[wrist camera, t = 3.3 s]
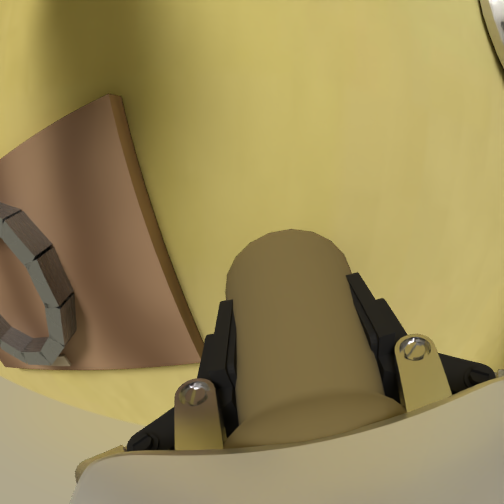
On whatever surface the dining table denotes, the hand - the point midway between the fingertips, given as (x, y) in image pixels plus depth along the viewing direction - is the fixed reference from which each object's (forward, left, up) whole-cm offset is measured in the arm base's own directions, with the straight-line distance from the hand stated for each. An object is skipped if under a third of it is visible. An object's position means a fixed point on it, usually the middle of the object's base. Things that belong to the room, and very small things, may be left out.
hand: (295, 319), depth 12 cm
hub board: (+14, -4, -2) cm, 15 cm away
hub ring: (+15, -4, -1) cm, 16 cm away
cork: (0, 0, -2) cm, 2 cm away
